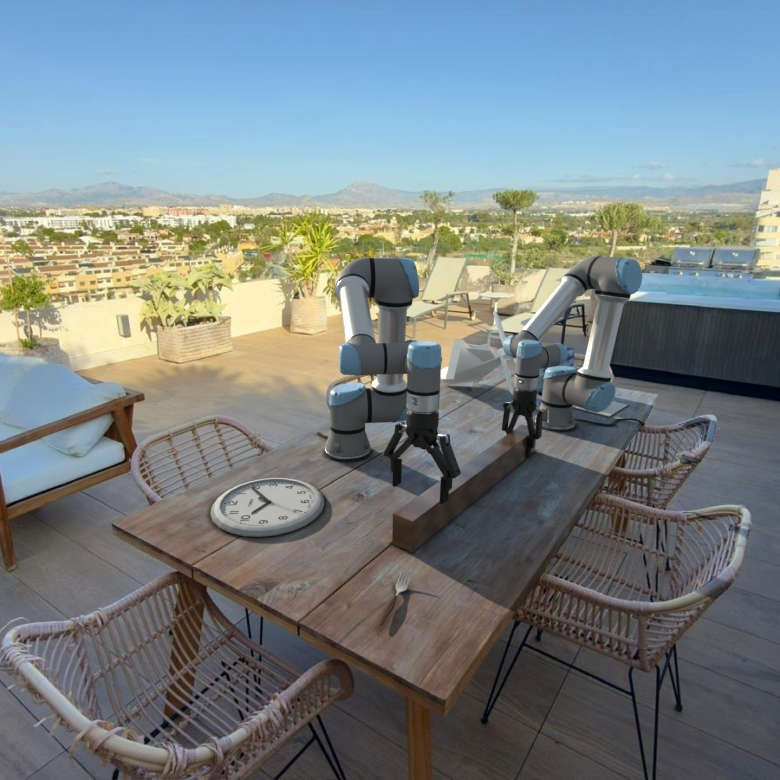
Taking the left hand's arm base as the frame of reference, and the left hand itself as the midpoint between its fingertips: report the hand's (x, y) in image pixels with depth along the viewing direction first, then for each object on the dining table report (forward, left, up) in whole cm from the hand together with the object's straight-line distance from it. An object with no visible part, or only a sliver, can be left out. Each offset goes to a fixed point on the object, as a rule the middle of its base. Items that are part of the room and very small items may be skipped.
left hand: (419, 493), depth 126 cm
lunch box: (-87, +112, -12) cm, 143 cm away
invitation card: (-60, +118, -12) cm, 132 cm away
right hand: (-31, +53, -11) cm, 62 cm away
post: (-16, +27, -12) cm, 33 cm away
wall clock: (-28, -31, -12) cm, 44 cm away
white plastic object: (-96, +79, -12) cm, 125 cm away
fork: (+20, -15, -12) cm, 27 cm away
